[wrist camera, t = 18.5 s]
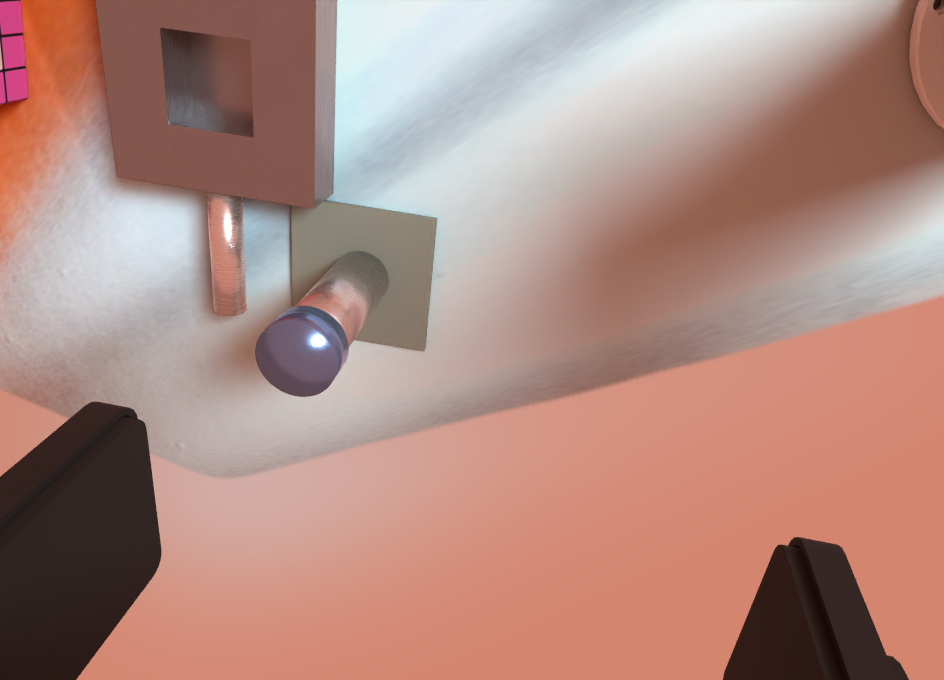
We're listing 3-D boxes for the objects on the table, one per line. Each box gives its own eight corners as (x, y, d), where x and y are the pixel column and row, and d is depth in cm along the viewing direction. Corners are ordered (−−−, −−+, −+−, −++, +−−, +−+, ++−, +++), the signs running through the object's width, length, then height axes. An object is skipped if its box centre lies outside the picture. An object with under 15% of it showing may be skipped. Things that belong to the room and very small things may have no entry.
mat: (437, 218, 44) (435, 220, 43) (425, 348, 48) (423, 351, 48) (293, 195, 44) (291, 196, 44) (294, 325, 49) (292, 327, 48)
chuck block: (125, -55, 40) (88, -57, 37) (337, -28, 38) (316, -27, 36) (159, 281, 49) (132, 300, 46) (330, 311, 48) (313, 333, 45)
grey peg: (329, 241, 45) (254, 315, 35) (395, 252, 45) (337, 330, 35) (328, 302, 47) (256, 388, 37) (391, 313, 47) (335, 403, 37)
